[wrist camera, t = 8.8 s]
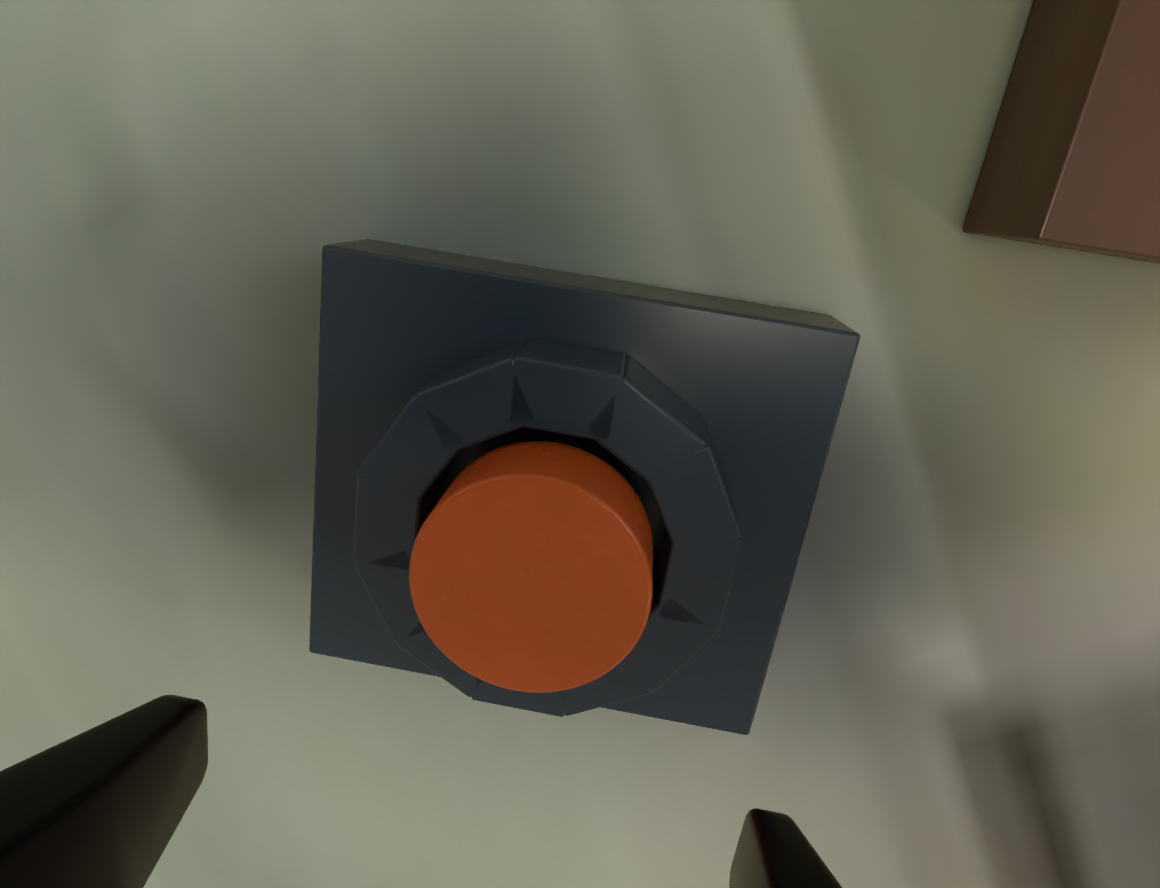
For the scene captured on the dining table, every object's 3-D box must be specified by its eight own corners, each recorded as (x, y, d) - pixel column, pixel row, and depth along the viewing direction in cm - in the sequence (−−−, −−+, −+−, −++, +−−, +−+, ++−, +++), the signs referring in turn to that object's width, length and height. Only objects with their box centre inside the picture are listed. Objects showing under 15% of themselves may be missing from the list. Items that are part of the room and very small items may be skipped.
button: (672, 460, 13) (674, 500, 11) (632, 653, 14) (629, 714, 12) (447, 421, 13) (417, 454, 11) (428, 616, 14) (398, 670, 13)
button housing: (834, 315, 15) (893, 354, 11) (738, 675, 18) (760, 800, 14) (365, 238, 16) (273, 250, 12) (346, 602, 19) (267, 705, 15)
